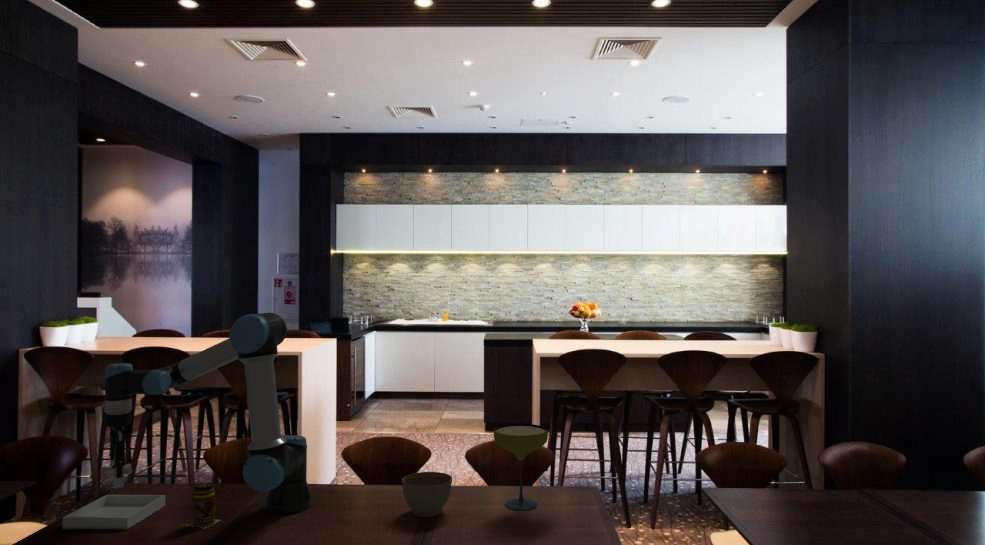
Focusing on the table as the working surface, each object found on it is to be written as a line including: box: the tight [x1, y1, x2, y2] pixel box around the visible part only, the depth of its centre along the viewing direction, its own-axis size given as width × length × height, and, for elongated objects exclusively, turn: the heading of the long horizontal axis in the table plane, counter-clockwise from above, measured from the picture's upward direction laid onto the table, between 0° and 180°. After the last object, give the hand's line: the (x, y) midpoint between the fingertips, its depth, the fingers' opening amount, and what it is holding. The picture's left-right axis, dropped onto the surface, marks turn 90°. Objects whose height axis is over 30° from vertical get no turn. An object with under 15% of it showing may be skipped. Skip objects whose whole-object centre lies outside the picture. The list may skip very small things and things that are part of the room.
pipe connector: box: [100, 460, 133, 483], centre depth 192 cm, size 10×10×10 cm
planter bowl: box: [401, 471, 453, 518], centre depth 195 cm, size 16×16×11 cm
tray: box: [61, 494, 166, 530], centre depth 192 cm, size 20×20×4 cm
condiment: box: [182, 482, 222, 530], centre depth 186 cm, size 7×8×12 cm
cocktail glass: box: [493, 423, 549, 512], centre depth 201 cm, size 18×18×25 cm
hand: (116, 483), depth 192 cm, fingers closed on pipe connector, 9 cm apart
